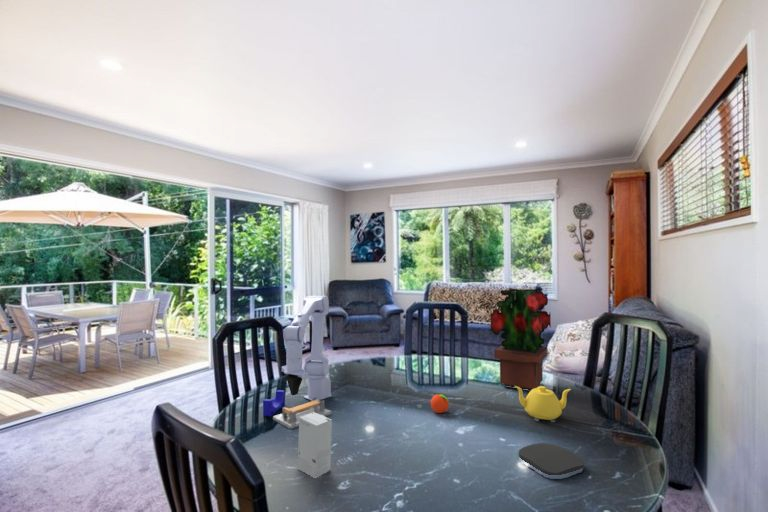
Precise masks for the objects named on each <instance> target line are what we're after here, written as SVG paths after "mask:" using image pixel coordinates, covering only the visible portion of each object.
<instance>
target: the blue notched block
mask: <svg viewBox="0 0 768 512" xmlns="http://www.w3.org/2000/svg"><path fill="white" fill-rule="evenodd" d="M285 391H286V390H285V389H284V390H281V389H278V390H276V392H275V397H273V398H271V399H269V398H264V399H263V400H262V405H263V407H262V409H263V410H262V411H263V413H262V416H263V417H273V416H274V414H276V412H278V411H279V410H280V409H281V408H284V407H285V405H286V404H285V403H286V400H285V399H286V398H285V396H286V395H285V393H286V392H285Z"/></svg>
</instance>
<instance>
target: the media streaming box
mask: <svg viewBox="0 0 768 512" xmlns="http://www.w3.org/2000/svg"><path fill="white" fill-rule="evenodd" d="M519 457H520V458H521V459H522V460H524V461H525V462H527V463H529V464H530V465H532V466H533V467H535V468H536V469H538V470H540V471H541V472H543V473H545V474H548V475H562V474H566V473H569V472H573V471H576V470H579V469H581V468H583V467H584V468H585V462H584V460H583V459H582V458H581V457H579V455H577V454H575V453H574V452H573V451H570V450H568V449H567V448H564V447H562V446H561V445H560V446H559V445H558V444H554V443H553V444H552V443H544V442H542V443H541V442H539V443H538V442H537V443H532V444H529V445H527V446H524V447H522V448H520V449H519V450H518V458H519Z"/></svg>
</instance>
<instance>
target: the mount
mask: <svg viewBox="0 0 768 512" xmlns="http://www.w3.org/2000/svg"><path fill="white" fill-rule="evenodd" d="M315 399H317V397H315V398H313V401H314V400H315ZM325 403H326V402H325V399H322V400H320V405H317V406H315V407H312V408H309V409H306V410H303V411H300V412H297V413H295V411H291V412H290V415H289V414H287V413H285V412H284V409H285V408H287V407H286V406H283V407H281V408H282V410H281V411H282V413H280V414H276V415H272V420H273V421H275V422H276V423H278V424H281V425H282V426H284V427H286V428H288V429H289V430H292V429H295V428H297V427H298V428H299V417H301V416H304V415H307V414H310V413H313V412H315V413H318V414H320V415H323V416H325V417H327V416H330V415H332V411H331V410H329V409H327V408H325V407H326V406H325V405H326V404H325Z"/></svg>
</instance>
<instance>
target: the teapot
mask: <svg viewBox="0 0 768 512" xmlns="http://www.w3.org/2000/svg"><path fill="white" fill-rule="evenodd" d="M515 387H516V388H517V389H516V390H517V391H518V399H519V400H518V401H519V403H520V404H521V405H522V407H524V410H525V412H526V413H527V414H528V415H529V416H530V417H532V418H534V417H535V418H539V419H540V420H547V421H549V420H552V419H555V420H556V419H557V418H559V417H560V416H561V415H562V413H563V412H562V411H563V409H565V408H566V405H567V401H568V400H567V399H568V398H567V395H568V393H569V392H570V391H571V390H572V389H571V388H567V389H564V390H563V392H562V395H561V399H560V400H559V398H558V397H557V395H556V394H555V392H554V391H553V390H551V389H547V387H546V386H543V385H539V386H538V387H537V388H534V389H532V390H531V391H528V394H527V395H526V397H524V392H523V391H524V390H522V389H521V388H520V387H517V386H515Z"/></svg>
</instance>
